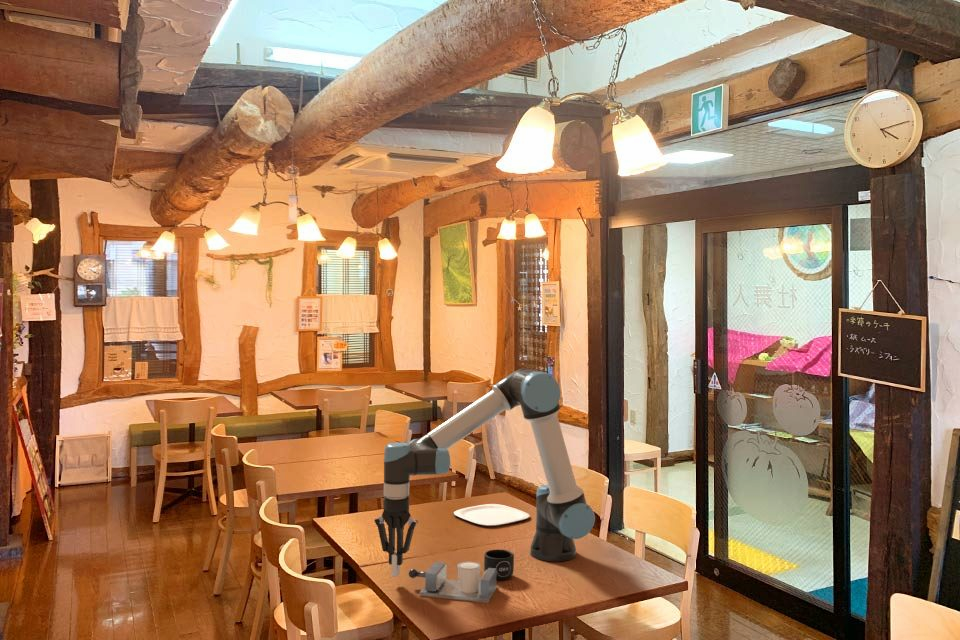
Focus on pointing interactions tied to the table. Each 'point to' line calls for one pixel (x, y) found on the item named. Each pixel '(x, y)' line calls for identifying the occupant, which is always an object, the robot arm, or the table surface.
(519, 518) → the plate
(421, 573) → the jaw
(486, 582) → the vise
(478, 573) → the white cylinder
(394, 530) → the robot arm
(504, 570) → the mug
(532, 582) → the table surface
